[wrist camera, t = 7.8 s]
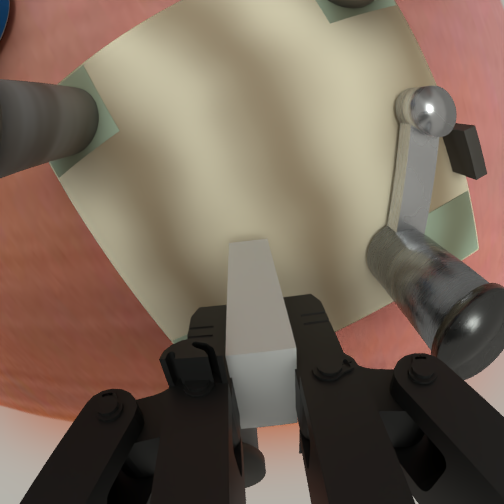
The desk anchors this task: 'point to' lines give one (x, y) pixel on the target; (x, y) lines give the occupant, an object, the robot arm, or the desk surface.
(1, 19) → the beverage can
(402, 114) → the hinged leg
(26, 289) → the desk surface
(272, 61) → the stool seat
